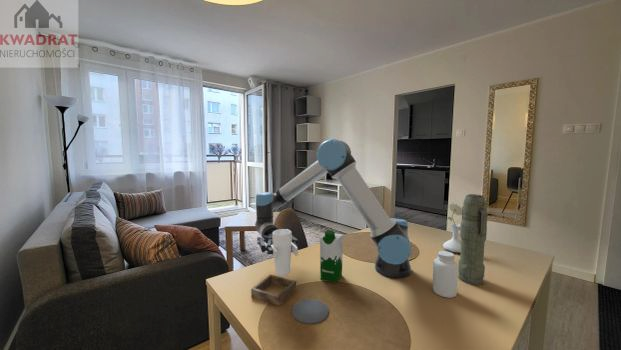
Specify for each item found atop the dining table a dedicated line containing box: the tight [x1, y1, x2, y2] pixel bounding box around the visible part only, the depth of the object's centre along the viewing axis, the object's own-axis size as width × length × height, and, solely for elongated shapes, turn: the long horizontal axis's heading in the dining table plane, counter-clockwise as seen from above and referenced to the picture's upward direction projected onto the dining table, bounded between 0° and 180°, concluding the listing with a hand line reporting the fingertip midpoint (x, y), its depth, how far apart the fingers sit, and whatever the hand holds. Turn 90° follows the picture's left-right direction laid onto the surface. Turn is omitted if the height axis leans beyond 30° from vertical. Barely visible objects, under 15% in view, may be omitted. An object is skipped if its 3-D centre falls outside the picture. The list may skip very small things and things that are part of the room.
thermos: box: [457, 193, 489, 286], centre depth 100 cm, size 9×12×35 cm
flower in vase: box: [442, 202, 462, 254], centre depth 132 cm, size 13×11×25 cm
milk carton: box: [319, 230, 344, 284], centre depth 103 cm, size 9×9×20 cm
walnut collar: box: [250, 274, 297, 307], centre depth 93 cm, size 12×12×3 cm
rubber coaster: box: [291, 298, 329, 325], centre depth 82 cm, size 12×12×1 cm
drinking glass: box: [272, 228, 293, 277], centre depth 88 cm, size 7×7×15 cm
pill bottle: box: [432, 250, 459, 299], centre depth 92 cm, size 8×8×15 cm
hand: (286, 253), depth 83 cm, fingers closed on drinking glass, 6 cm apart
